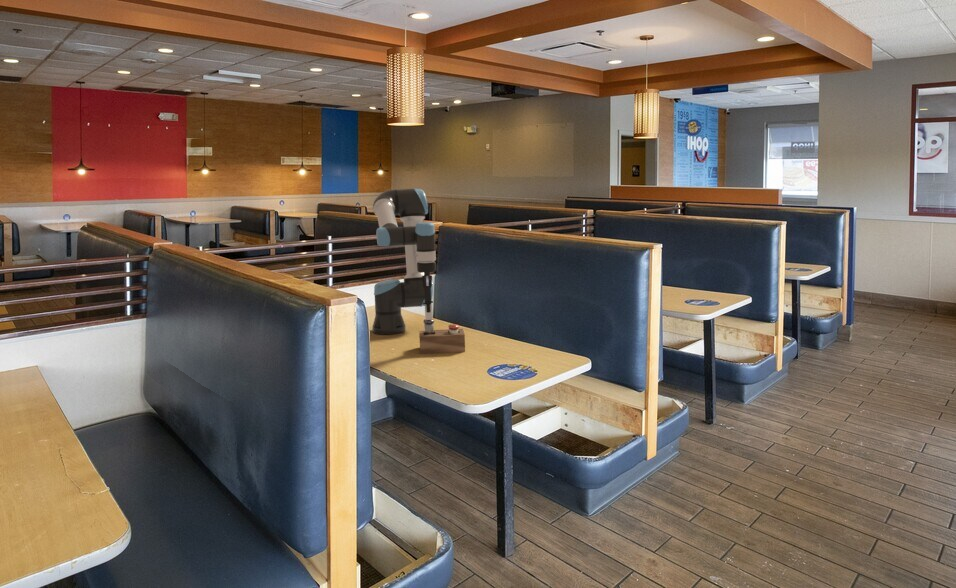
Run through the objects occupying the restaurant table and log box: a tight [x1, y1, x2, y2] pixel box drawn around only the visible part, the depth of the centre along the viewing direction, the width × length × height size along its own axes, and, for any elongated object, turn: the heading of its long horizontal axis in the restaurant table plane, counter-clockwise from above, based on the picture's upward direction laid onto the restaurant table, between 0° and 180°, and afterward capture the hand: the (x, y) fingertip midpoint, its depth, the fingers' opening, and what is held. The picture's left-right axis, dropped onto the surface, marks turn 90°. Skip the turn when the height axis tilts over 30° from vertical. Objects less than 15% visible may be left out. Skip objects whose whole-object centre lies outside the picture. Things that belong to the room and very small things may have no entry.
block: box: [418, 328, 466, 355], centre depth 265 cm, size 10×18×7 cm, turn 95°
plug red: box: [448, 323, 460, 334], centre depth 265 cm, size 4×4×8 cm
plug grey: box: [423, 318, 435, 335], centre depth 264 cm, size 4×4×8 cm
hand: (428, 319), depth 263 cm, fingers closed
